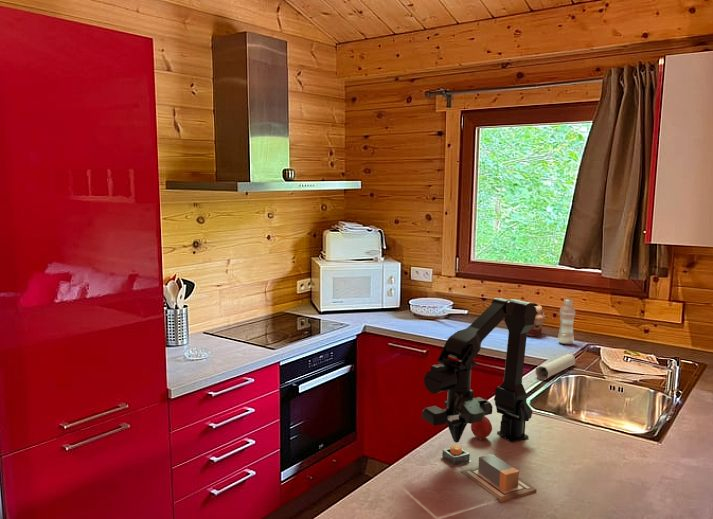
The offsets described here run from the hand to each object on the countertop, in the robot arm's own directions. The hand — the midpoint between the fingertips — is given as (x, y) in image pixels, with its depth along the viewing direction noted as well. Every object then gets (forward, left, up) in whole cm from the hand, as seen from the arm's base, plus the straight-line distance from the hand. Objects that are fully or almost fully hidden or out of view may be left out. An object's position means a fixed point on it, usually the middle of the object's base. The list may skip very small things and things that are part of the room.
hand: (456, 441), depth 161 cm
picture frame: (-3, +13, -5) cm, 15 cm away
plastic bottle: (-110, -67, -5) cm, 129 cm away
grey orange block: (-3, +13, -4) cm, 14 cm away
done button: (0, 0, -4) cm, 4 cm away
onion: (-14, -7, -5) cm, 17 cm away
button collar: (0, 0, -5) cm, 5 cm away
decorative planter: (-107, -88, -5) cm, 139 cm away
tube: (-79, -42, -6) cm, 89 cm away
